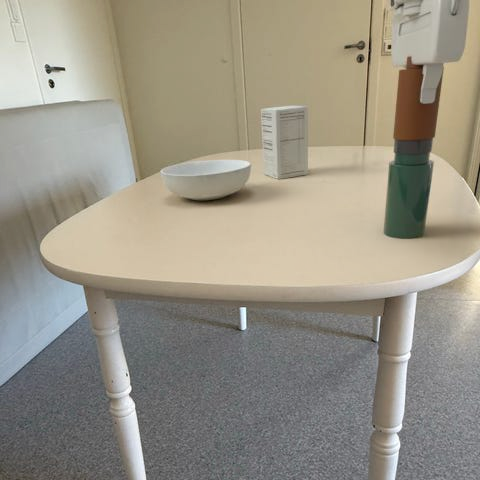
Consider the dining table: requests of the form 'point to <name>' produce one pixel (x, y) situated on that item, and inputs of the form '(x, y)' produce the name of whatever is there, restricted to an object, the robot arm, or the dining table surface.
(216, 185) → the serving bowl
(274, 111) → the supplement box
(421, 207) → the green bottle
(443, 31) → the robot arm
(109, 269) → the dining table surface
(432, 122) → the amber bottle
